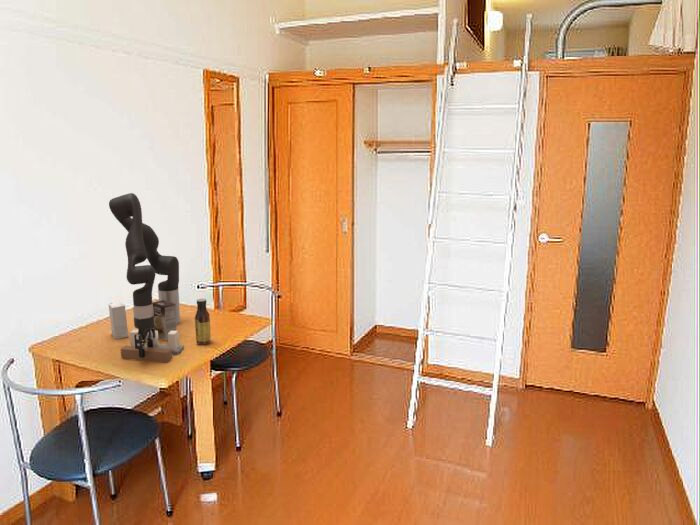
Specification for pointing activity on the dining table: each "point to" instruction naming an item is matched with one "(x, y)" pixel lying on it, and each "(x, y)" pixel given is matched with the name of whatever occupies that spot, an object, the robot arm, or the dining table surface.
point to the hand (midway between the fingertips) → (146, 353)
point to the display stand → (172, 344)
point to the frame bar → (147, 354)
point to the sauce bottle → (202, 323)
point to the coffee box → (164, 318)
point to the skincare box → (118, 320)
